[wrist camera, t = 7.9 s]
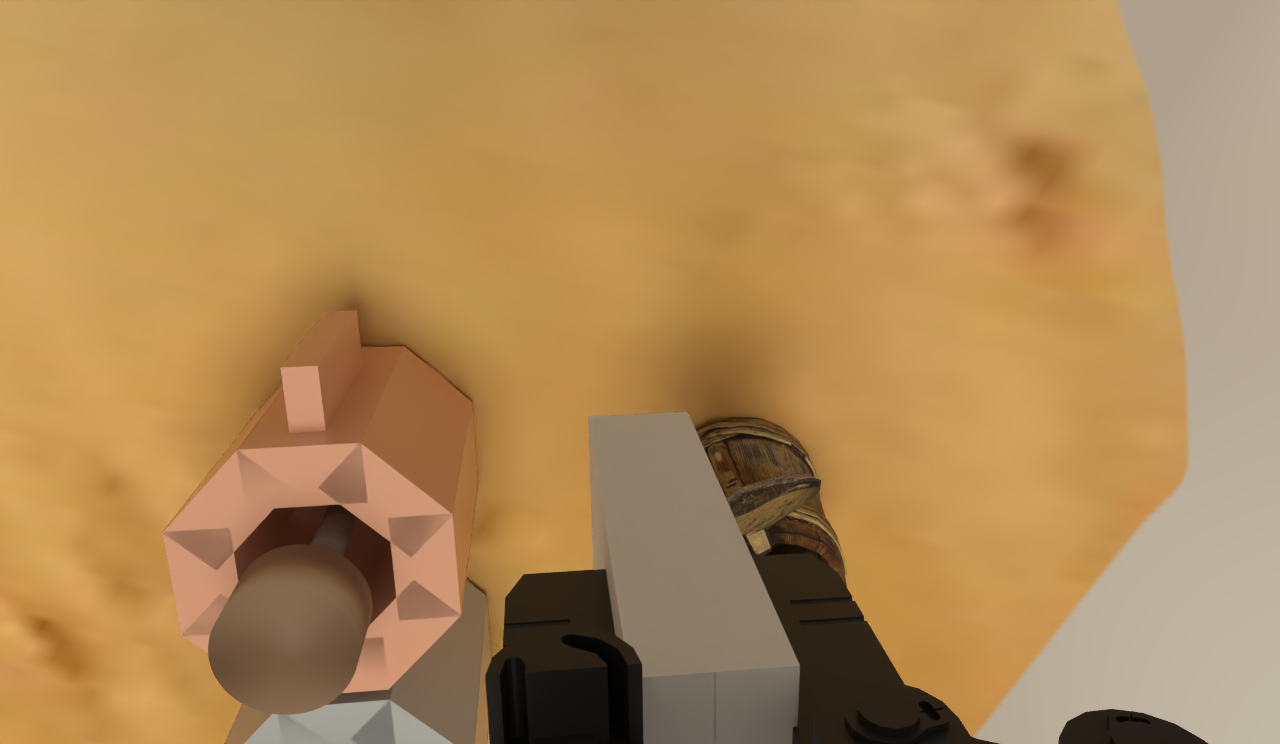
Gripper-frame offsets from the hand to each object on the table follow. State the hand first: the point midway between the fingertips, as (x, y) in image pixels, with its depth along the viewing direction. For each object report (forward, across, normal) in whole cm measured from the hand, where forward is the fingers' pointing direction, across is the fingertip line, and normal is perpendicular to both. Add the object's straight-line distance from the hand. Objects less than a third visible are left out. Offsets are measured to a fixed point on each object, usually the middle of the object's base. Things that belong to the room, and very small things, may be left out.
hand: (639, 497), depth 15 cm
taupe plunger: (+33, -11, -13) cm, 37 cm away
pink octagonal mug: (+36, -11, -12) cm, 40 cm away
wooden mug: (+37, +8, -15) cm, 40 cm away
